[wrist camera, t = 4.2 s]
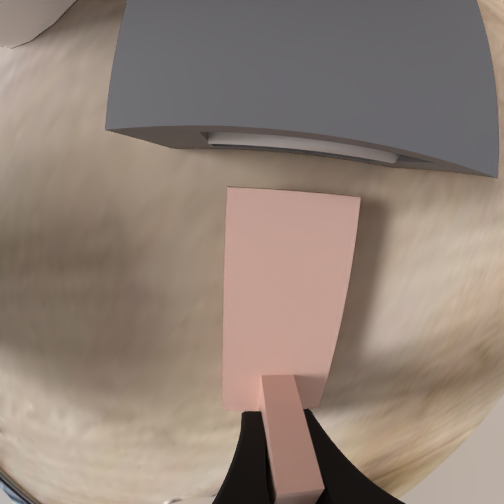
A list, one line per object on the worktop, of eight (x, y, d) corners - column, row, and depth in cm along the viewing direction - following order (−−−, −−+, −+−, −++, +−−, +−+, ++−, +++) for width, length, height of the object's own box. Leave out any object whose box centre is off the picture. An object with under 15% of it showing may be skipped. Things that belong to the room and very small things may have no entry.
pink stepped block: (355, 195, 9) (479, 236, 3) (308, 428, 12) (334, 523, 6) (227, 186, 8) (215, 216, 3) (222, 431, 11) (222, 532, 6)
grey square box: (386, -3, 7) (452, -58, 2) (392, 168, 10) (497, 180, 5) (194, -31, 7) (178, -117, 2) (171, 149, 9) (105, 132, 4)
